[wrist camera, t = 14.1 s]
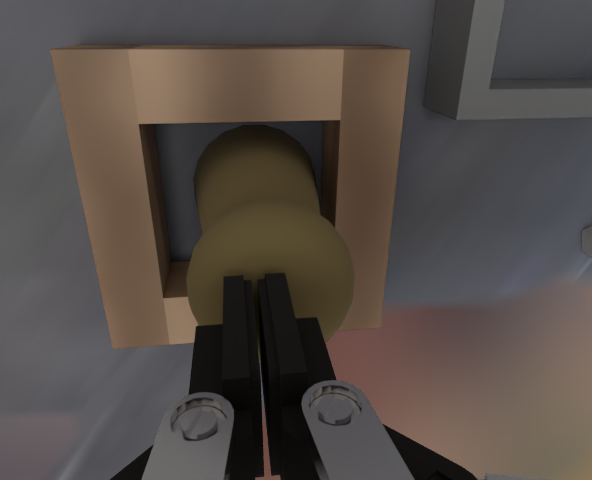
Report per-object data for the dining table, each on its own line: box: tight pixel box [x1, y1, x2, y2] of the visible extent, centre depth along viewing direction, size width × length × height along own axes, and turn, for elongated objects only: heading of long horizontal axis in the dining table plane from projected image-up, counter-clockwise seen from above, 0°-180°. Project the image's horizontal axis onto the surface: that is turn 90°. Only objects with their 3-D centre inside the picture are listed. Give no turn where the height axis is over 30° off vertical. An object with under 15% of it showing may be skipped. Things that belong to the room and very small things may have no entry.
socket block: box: [50, 45, 410, 349], centre depth 21 cm, size 13×13×4 cm
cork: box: [186, 125, 355, 363], centre depth 18 cm, size 6×6×11 cm
